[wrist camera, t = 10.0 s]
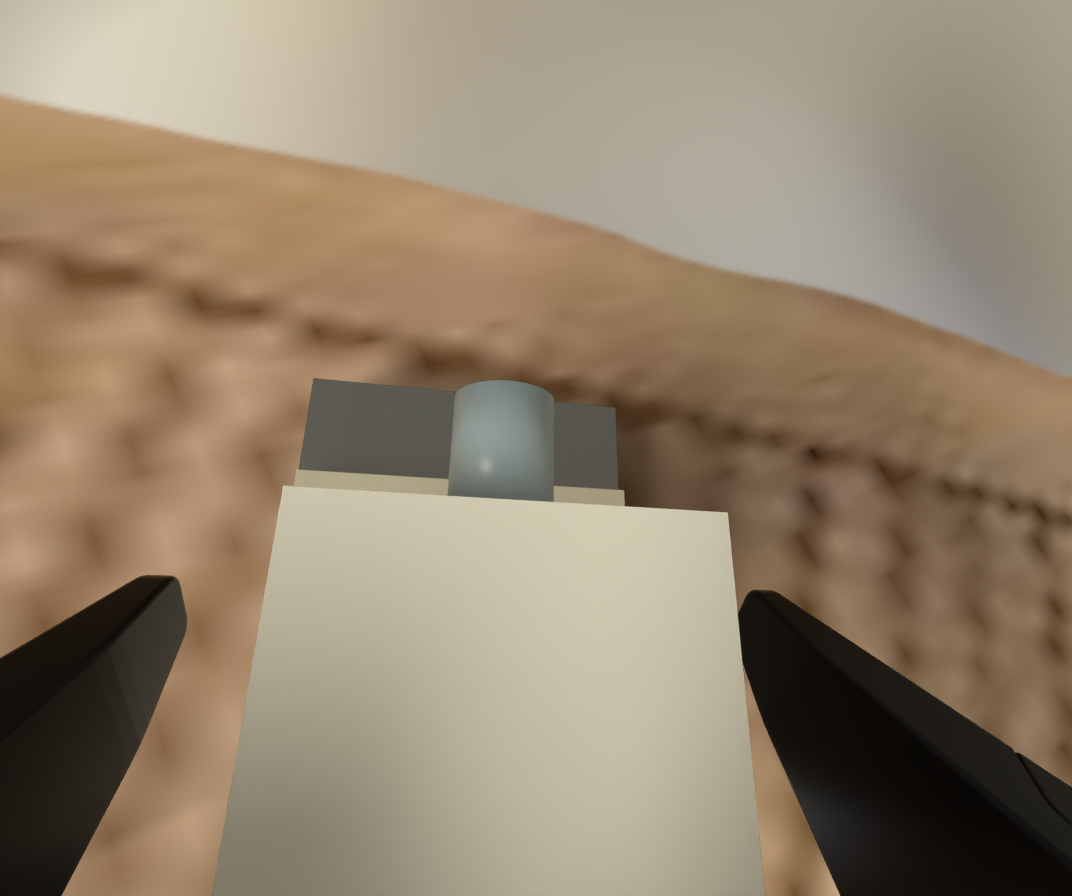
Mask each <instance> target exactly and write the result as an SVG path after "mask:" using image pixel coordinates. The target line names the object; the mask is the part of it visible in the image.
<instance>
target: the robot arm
mask: <svg viewBox="0 0 1072 896" xmlns="http://www.w3.org/2000/svg"><path fill="white" fill-rule="evenodd" d="M738 623H739V633H740V643H741V653H742V662H743V665H744V668H745V671H746V674H747V677H748V679H749V682H750V685H751V688H752V691H753V694H754V697H755V700H756V703H757V706H758V709H759V711H760V714H761V717H762V719H763V722H764V725H765V727H766V729H767V732H768V734H769V737H770V739H771V741H772V743H773V746H774V748H775V750H776V752H777V755H778V757H779V759H780V761H781V764H782V766H783V768H784V770H785V773H786V775H787V777H788V779H789V781H790V784H791V786H792V788H793V790H794V793H795V795H796V797H797V799H798V802H799V804H800V806H801V808H802V811H803V813H804V815H805V817H806V820H807V822H808V824H809V826H810V829H811V831H812V833H813V835H814V838H815V840H816V842H817V844H818V847H819V849H820V851H821V853H822V855H823V858H824V860H825V862H826V864H827V867H828V869H829V871H830V873H831V876H832V878H833V880H834V882H835V885H836V887H837V889H838V891H839V894H840V896H1072V787H1070V786H1069V785H1067V784H1066V783H1064V782H1063V781H1061V780H1060V779H1058V778H1057V777H1055V776H1053V775H1052V774H1050V773H1049V772H1047V771H1046V770H1044V769H1043V768H1041V767H1040V766H1038V765H1037V764H1035V763H1034V762H1032V761H1031V760H1029V759H1028V758H1026V757H1025V756H1023V755H1022V754H1020V753H1015V752H1014V750H1013V749H1012V748H1011V747H1010V746H1008V745H1007V744H1005V743H1004V742H1002V741H1001V740H999V739H998V738H996V737H995V736H993V735H992V734H990V733H988V732H987V731H985V730H984V729H982V728H981V727H979V726H978V725H976V724H975V723H973V722H972V721H970V720H969V719H967V718H966V717H964V716H963V715H961V714H960V713H958V712H957V711H955V710H954V709H952V708H951V707H949V706H948V705H946V704H945V703H943V702H942V701H940V700H939V699H937V698H936V697H934V696H933V695H931V694H930V693H928V692H927V691H925V690H924V689H922V688H921V687H919V686H918V685H916V684H915V683H913V682H912V681H910V680H908V679H907V678H905V677H904V676H902V675H901V674H899V673H898V672H896V671H895V670H893V669H892V668H890V667H889V666H887V665H886V664H884V663H883V662H881V661H880V660H878V659H877V658H875V657H874V656H872V655H871V654H869V653H868V652H866V651H865V650H863V649H862V648H860V647H859V646H857V645H856V644H854V643H853V642H851V641H850V640H848V639H847V638H845V637H844V636H842V635H841V634H839V633H838V632H836V631H835V630H833V629H832V628H830V627H829V626H827V625H826V624H824V623H823V622H821V621H820V620H818V619H817V618H815V617H813V616H812V615H810V614H809V613H807V612H806V611H804V610H803V609H801V608H800V607H798V606H797V605H795V604H794V603H792V602H791V601H789V600H788V599H786V598H785V597H783V596H782V595H780V594H779V593H777V592H775V591H772V590H752V591H750V592H749V593H748V594H747V596H746V598H745V600H744V602H743V604H742V606H741V608H740V610H739V613H738ZM186 628H187V614H186V610H185V605H184V600H183V596H182V591H181V586H180V583H179V581H178V579H177V578H176V577H173V576H163V575H145V576H140V577H138V578H136V579H134V580H132V581H131V582H129V583H127V584H126V585H124V586H122V587H120V588H119V589H117V590H115V591H114V592H112V593H110V594H108V595H107V596H105V597H103V598H102V599H100V600H98V601H97V602H95V603H93V604H91V605H90V606H88V607H86V608H85V609H83V610H81V611H79V612H78V613H76V614H74V615H73V616H71V617H69V618H68V619H66V620H64V621H62V622H61V623H59V624H57V625H56V626H54V627H52V628H51V629H49V630H47V631H45V632H44V633H42V634H40V635H39V636H37V637H35V638H33V639H32V640H30V641H28V642H27V643H25V644H23V645H22V646H20V647H18V648H16V649H15V650H13V651H11V652H10V653H8V654H6V655H4V656H3V657H1V658H0V896H61V895H62V894H63V892H64V890H65V888H66V886H67V884H68V882H69V880H70V878H71V876H72V875H73V873H74V871H75V869H76V867H77V865H78V863H79V861H80V859H81V857H82V856H83V854H84V852H85V850H86V848H87V846H88V844H89V842H90V840H91V838H92V836H93V835H94V833H95V831H96V829H97V827H98V825H99V823H100V821H101V819H102V817H103V816H104V814H105V812H106V810H107V808H108V806H109V804H110V802H111V800H112V798H113V797H114V795H115V793H116V791H117V789H118V787H119V785H120V783H121V781H122V779H123V778H124V776H125V774H126V772H127V770H128V768H129V766H130V764H131V762H132V760H133V758H134V756H135V754H136V752H137V750H138V748H139V746H140V744H141V742H142V739H143V737H144V735H145V732H146V730H147V728H148V725H149V723H150V720H151V718H152V715H153V713H154V710H155V708H156V705H157V703H158V700H159V698H160V695H161V693H162V690H163V688H164V685H165V683H166V680H167V678H168V675H169V673H170V670H171V668H172V666H173V663H174V661H175V658H176V656H177V653H178V651H179V648H180V646H181V643H182V641H183V638H184V635H185V632H186Z"/></svg>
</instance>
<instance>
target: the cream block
mask: <svg viewBox="0 0 1072 896" xmlns="http://www.w3.org/2000/svg"><path fill="white" fill-rule="evenodd" d="M212 896H765V889H764V879H763V869H762V858H761V848H760V838H759V828H758V817H757V807H756V797H755V787H754V776H753V766H752V756H751V746H750V735H749V725H748V715H747V705H746V694H745V684H744V674H743V664H742V653H741V643H740V633H739V623H738V612H737V602H736V592H735V582H734V571H733V561H732V551H731V541H730V530H729V520H728V513H727V512H711V511H694V510H677V509H661V508H644V507H627V506H611V505H594V504H578V503H561V502H554V398H553V396H552V395H551V394H550V393H549V392H548V391H546V390H544V389H542V388H540V387H538V386H535V385H532V384H528V383H524V382H518V381H509V380H490V381H481V382H476V383H472V384H469V385H467V386H464V387H462V388H461V389H459V390H458V391H457V392H456V394H455V398H454V412H453V425H452V439H451V453H450V467H449V480H448V494H447V496H444V495H428V494H411V493H395V492H378V491H361V490H345V489H328V488H311V487H295V486H283V491H282V496H281V502H280V508H279V513H278V519H277V525H276V531H275V536H274V542H273V548H272V554H271V559H270V565H269V571H268V577H267V582H266V588H265V594H264V600H263V605H262V611H261V617H260V623H259V628H258V634H257V640H256V645H255V651H254V657H253V663H252V668H251V674H250V680H249V686H248V691H247V697H246V703H245V709H244V714H243V720H242V726H241V732H240V737H239V743H238V749H237V754H236V760H235V766H234V772H233V777H232V783H231V789H230V795H229V800H228V806H227V812H226V818H225V823H224V829H223V835H222V841H221V846H220V852H219V858H218V864H217V869H216V875H215V881H214V886H213V892H212Z"/></svg>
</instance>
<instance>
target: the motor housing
mask: <svg viewBox="0 0 1072 896" xmlns="http://www.w3.org/2000/svg"><path fill="white" fill-rule="evenodd" d="M455 394H456V392H450V391H440V390H429V389H419V388H409V387H399V386H389V385H378V384H368V383H358V382H348V381H337V380H327V379H317V378H314V379H313V385H312V391H311V397H310V403H309V409H308V415H307V422H306V428H305V434H304V440H303V446H302V452H301V458H300V464H299V470H297V469H296V475H295V481H294V486H295V487H311V488H328V489H345V490H361V491H378V492H395V493H411V494H428V495H444V496H447V494H448V480H449V467H450V453H451V439H452V425H453V412H454V398H455ZM554 502H561V503H578V504H594V505H611V506H625V499H624V490H618V466H617V437H616V408H613V407H603V406H593V405H583V404H573V403H562V402H554Z"/></svg>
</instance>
